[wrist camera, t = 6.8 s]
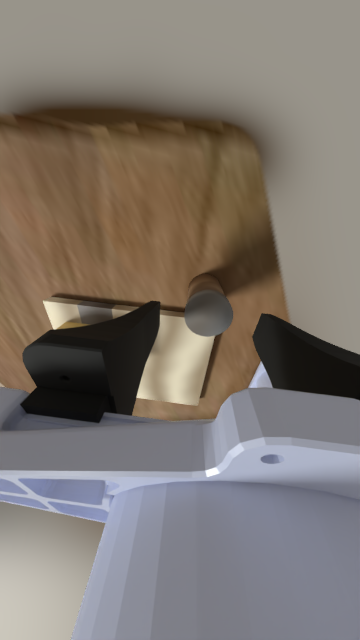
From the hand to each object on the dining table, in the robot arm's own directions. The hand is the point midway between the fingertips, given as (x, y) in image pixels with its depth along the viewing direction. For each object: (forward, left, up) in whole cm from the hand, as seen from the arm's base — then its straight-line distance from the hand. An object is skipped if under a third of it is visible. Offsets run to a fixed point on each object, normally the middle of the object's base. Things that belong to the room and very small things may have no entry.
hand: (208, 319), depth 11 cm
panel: (+8, +11, -7) cm, 15 cm away
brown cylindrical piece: (0, 0, -7) cm, 7 cm away
